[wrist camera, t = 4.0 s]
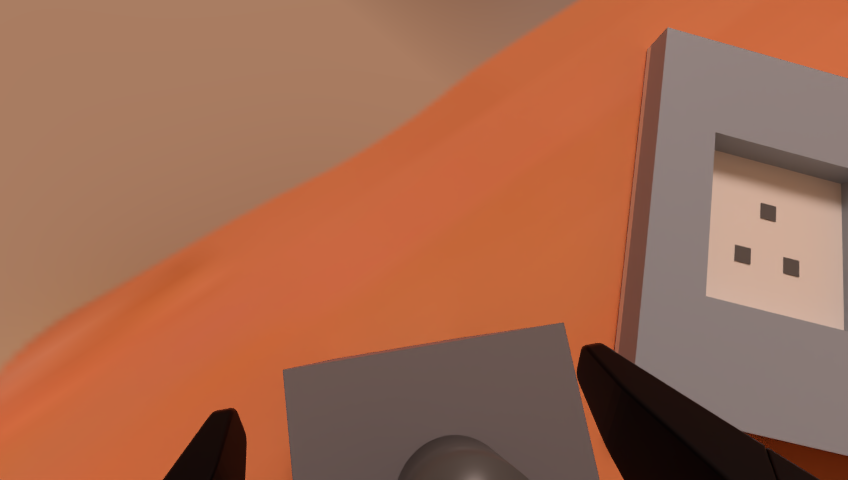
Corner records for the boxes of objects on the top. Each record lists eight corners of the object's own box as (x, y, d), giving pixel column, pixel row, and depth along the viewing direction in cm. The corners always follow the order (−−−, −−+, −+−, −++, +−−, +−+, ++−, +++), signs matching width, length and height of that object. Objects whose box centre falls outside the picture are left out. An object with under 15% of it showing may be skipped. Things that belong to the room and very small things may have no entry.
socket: (897, 467, 18) (943, 477, 16) (609, 400, 17) (630, 405, 16) (880, 114, 22) (916, 97, 20) (647, 49, 21) (667, 27, 20)
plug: (476, 466, 16) (711, 722, 5) (349, 493, 15) (298, 855, 4) (454, 339, 17) (610, 315, 6) (334, 358, 16) (259, 375, 5)
